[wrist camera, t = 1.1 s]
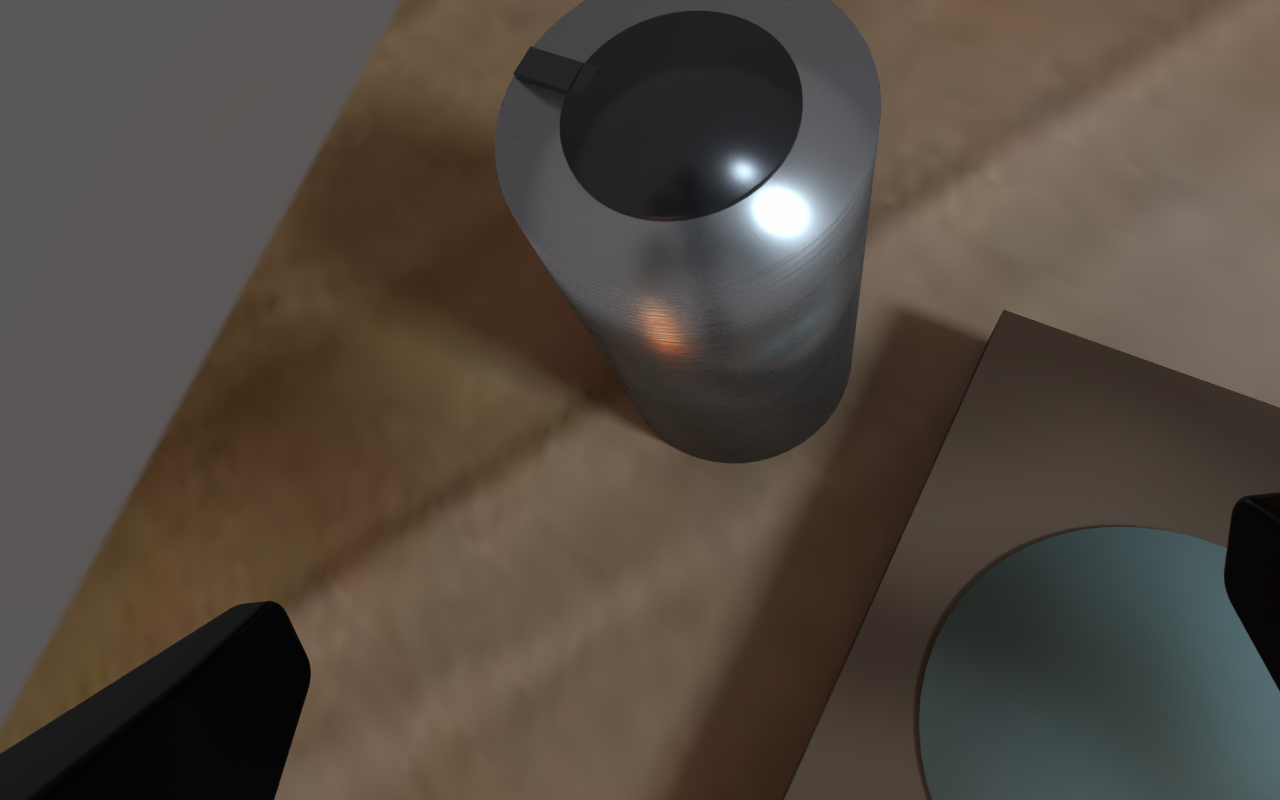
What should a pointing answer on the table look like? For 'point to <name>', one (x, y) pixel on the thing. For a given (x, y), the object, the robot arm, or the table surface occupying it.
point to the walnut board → (1064, 597)
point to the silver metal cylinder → (703, 205)
